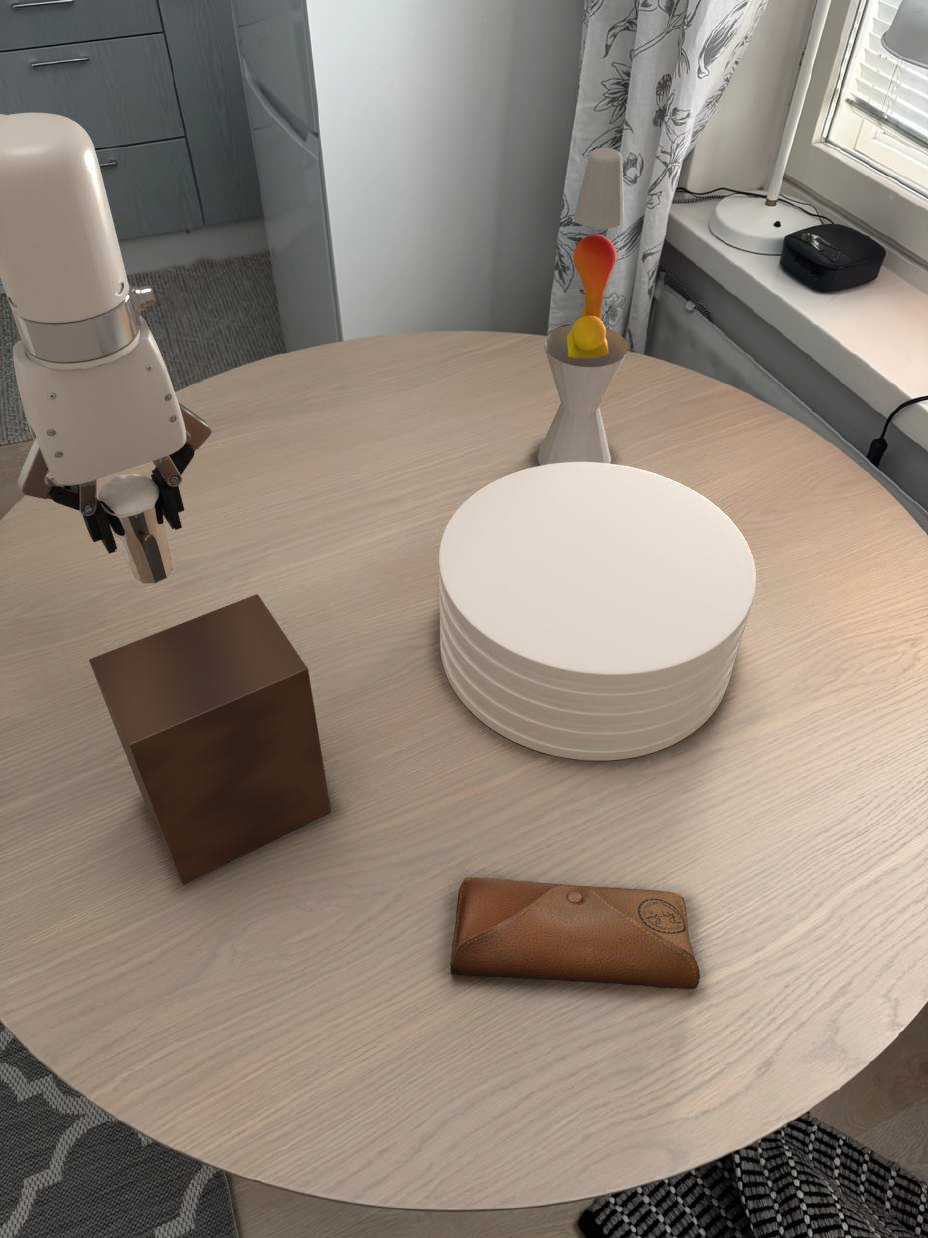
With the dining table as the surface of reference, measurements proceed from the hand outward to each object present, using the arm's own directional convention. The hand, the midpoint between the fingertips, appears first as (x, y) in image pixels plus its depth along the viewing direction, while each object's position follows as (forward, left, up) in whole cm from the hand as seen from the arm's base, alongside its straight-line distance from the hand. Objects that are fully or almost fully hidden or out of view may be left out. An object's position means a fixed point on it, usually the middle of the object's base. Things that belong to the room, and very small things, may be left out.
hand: (139, 529), depth 79 cm
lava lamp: (+52, +10, -19) cm, 56 cm away
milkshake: (0, 0, -5) cm, 5 cm away
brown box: (-1, -15, -19) cm, 24 cm away
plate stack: (+35, -15, -19) cm, 43 cm away
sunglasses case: (+16, -39, -19) cm, 46 cm away
